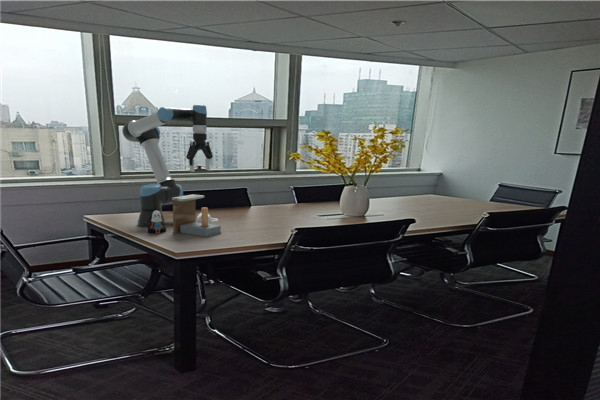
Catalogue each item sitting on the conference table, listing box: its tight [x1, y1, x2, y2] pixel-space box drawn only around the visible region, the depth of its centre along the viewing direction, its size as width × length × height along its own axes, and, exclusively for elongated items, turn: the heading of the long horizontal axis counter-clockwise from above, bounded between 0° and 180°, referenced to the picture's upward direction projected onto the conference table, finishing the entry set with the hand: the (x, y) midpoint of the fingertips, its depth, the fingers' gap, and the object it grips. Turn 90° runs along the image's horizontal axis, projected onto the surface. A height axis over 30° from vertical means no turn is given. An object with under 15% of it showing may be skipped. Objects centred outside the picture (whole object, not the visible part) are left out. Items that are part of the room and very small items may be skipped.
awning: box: [172, 193, 205, 234], centre depth 244 cm, size 8×17×19 cm, turn 153°
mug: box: [196, 212, 219, 224], centre depth 256 cm, size 12×10×8 cm
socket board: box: [179, 221, 221, 237], centre depth 241 cm, size 18×12×4 cm, turn 63°
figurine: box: [147, 210, 167, 235], centre depth 239 cm, size 10×11×12 cm
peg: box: [201, 207, 209, 227], centre depth 239 cm, size 3×3×14 cm
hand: (200, 170), depth 250 cm, fingers open, 13 cm apart
